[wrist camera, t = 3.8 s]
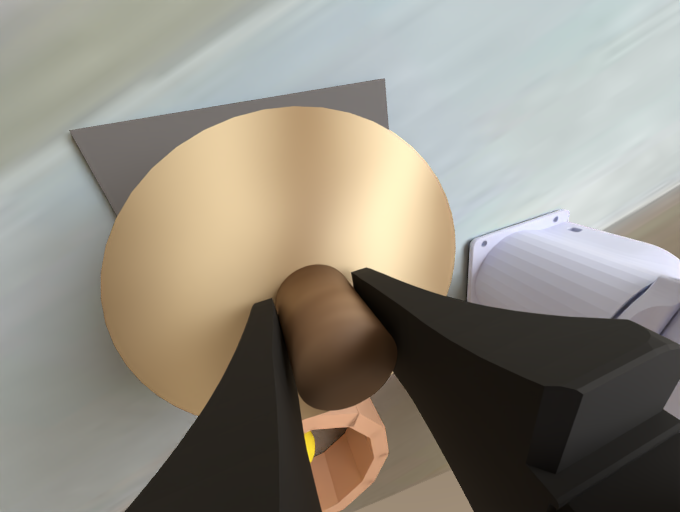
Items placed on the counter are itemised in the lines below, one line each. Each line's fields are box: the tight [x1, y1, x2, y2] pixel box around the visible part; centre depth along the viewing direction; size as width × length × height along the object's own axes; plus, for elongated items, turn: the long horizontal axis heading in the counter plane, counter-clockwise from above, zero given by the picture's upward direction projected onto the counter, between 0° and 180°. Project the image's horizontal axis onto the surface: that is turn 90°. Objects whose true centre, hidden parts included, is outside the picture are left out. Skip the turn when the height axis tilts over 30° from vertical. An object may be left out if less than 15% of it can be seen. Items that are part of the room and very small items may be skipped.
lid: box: [101, 106, 455, 419], centre depth 9 cm, size 13×13×4 cm
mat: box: [69, 78, 389, 216], centre depth 16 cm, size 14×14×1 cm
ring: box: [302, 397, 389, 512], centre depth 21 cm, size 12×12×4 cm
